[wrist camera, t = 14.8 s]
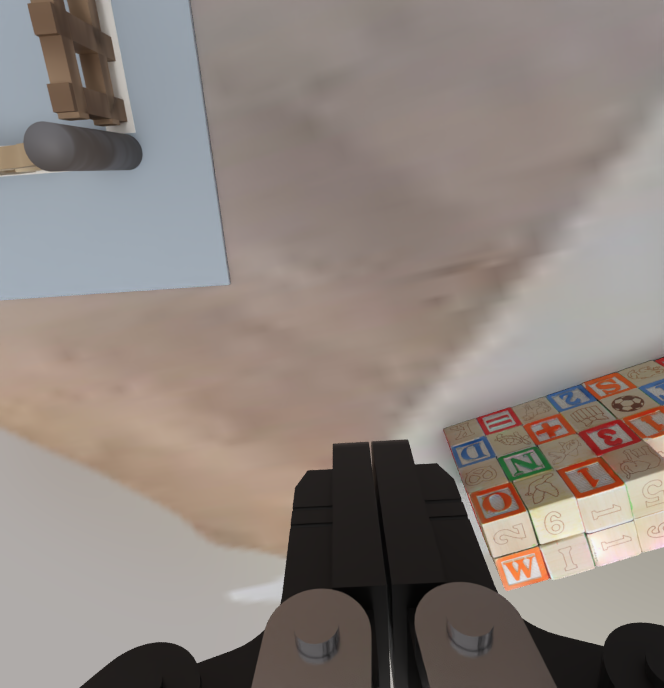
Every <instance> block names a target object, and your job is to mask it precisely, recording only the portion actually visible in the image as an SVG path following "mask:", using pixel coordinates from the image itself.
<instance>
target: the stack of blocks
mask: <svg viewBox="0 0 664 688" xmlns="http://www.w3.org/2000/svg"><path fill="white" fill-rule="evenodd" d="M443 430H444V433H445V436H446V439H447V441H448V444H449V447H450V450H451V452H452V455H453V458H454V460H455V463H456V465H457V468H458V471H459V474H460V476H461V479H462V482H463V485H464V487H465V490H466V493H467V495H468V498H469V501H470V503H471V506H472V508H473V511H474V514H475V517H476V519H477V522H478V524H479V527H480V529H481V532H482V535H483V537H484V540H485V542H486V545H487V547H488V550H489V553H490V555H491V557H492V559H493V561H494V563H495V566H496V568H497V571H498V573H499V576H500V578H501V581H502V583H503V586H504V588H505V590H506V591H509V590H512V589H516V588H519V587H523V586H526V585H530V584H534V583H538V582H541V581H545V580H548V579H549V578H550V579H552V580H557V579H560V578H564V577H567V576H571V575H574V574H577V573H581V572H585V571H588V570H591V569H594V568H595V566H603V565H607V564H610V563H613V562H617V561H620V560H623V559H626V558H630V557H633V556H637V555H639V554H640V553H641V552H648V551H651V550H655V549H658V548H662V547H664V358H661V359H658V360H655V361H649V362H646V363H642V364H639V365H636V366H633V367H630V368H627V369H624V370H622V371H619V372H618V373H612V374H609V375H606V376H603V377H600V378H596V379H593V380H590V381H587V382H584V383H582V384H581V385H577V386H574V387H571V388H568V389H565V390H562V391H559V392H556V393H553V394H550V395H547V396H546V397H542V398H539V399H536V400H533V401H530V402H527V403H524V404H520V405H517V406H514V407H512V408H506V409H503V410H500V411H497V412H494V413H491V414H488V415H485V416H482V417H479V418H476V419H472V420H468V421H465V422H462V423H459V424H456V425H453V426H450V427H447V428H445V429H443Z"/></svg>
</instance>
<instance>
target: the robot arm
mask: <svg viewBox="0 0 664 688" xmlns="http://www.w3.org/2000/svg"><path fill="white" fill-rule="evenodd" d="M371 450H372V464H371V456H370V448H369V442H356V443H338V444H333V469H328V470H310V471H307V472H306V474H305V475H304V476H303V478H302V479H301V480H300V482H299V483H298V485H297V486H296V487H295V493H294V501H293V511H292V518H291V529H290V535H289V543H288V551H287V560H286V568H285V577H284V585H283V593H282V599H281V604H280V606H279V607H278V608H277V609H276V610H275V611H274V612H273V614H272V615H271V617H270V619H269V620H268V622H267V625H266V628H265V630H264V631H263V632H262V633H261V634H260V635H258V636H257V637H256V638H254V639H253V640H252V641H250V642H248V643H247V644H245V645H244V646H242V647H239V648H237V649H235V650H232V651H230V652H227V653H224V654H222V655H219V656H216V657H213V658H211V659H208V660H205V661H202V662H200V663H196V661H195V659H194V657H193V656H192V655H191V654H190V653H189V652H188V651H187V650H186V649H184V648H183V647H181V646H178V645H176V644H172V643H166V642H156V643H150V644H145V645H142V646H139V647H136V648H134V649H131V650H129V651H127V652H125V653H124V654H122V655H120V656H118V657H117V658H116V659H114V660H113V661H112V662H110V663H109V664H108V665H106V666H105V667H104V668H103V669H102V670H100V671H99V672H98V673H97V674H95V675H94V676H93V677H92V678H91V679H89V680H88V681H87V682H86V683H85V684H84V685H82V686H81V687H80V688H390V662H389V651H390V660H391V668H392V677H393V686H394V688H664V626H662V625H657V624H652V623H630V624H626V625H623V626H620V627H618V628H617V629H615V630H614V631H613V632H612V633H610V634H609V636H608V638H607V639H606V641H605V644H604V646H600V645H596V644H592V643H588V642H584V641H579V640H576V639H572V638H568V637H563V636H560V635H556V634H553V633H550V632H547V631H545V630H542V629H540V628H538V627H536V626H534V625H532V624H530V623H528V622H527V621H525V620H524V619H522V618H521V616H520V614H519V613H518V611H517V610H516V609H515V608H514V606H513V605H512V604H511V603H510V602H509V601H508V600H506V599H505V598H504V597H503V596H501V595H500V594H498V592H497V590H496V587H495V586H494V583H493V580H492V578H491V575H490V572H489V570H488V567H487V564H486V562H485V559H484V557H483V554H482V551H481V549H480V546H479V544H478V541H477V538H476V536H475V533H474V530H473V528H472V525H471V523H470V520H469V519H468V515H467V512H466V510H465V507H464V504H463V502H462V501H461V496H460V494H459V491H458V489H457V486H456V483H455V481H454V479H453V478H452V477H451V476H450V475H449V474H448V473H447V472H446V471H445V470H443V469H442V468H441V467H440V466H439V465H438V464H437V463H435V464H417V465H415V464H414V460H413V456H412V453H411V449H410V445H409V442H408V440H389V441H372V442H371Z"/></svg>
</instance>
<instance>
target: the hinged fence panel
mask: <svg viewBox="0 0 664 688" xmlns="http://www.w3.org/2000/svg"><path fill="white" fill-rule="evenodd" d="M41 170H42V169H40V168H38V167H37V166H35V165H34V164H33V163H32V162H31V161H30V159H29V158H28V156H27V154H26V152H25V149H24V143H19V144H16V145H10V146H2V147H0V175H13V174H24V173H32V172H36V171H41Z"/></svg>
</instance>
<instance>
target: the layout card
mask: <svg viewBox="0 0 664 688" xmlns="http://www.w3.org/2000/svg"><path fill="white" fill-rule="evenodd" d="M95 2H96V7H97V12H98V17H99V22H100V27H101V32H103V33H105V34H107V35H108V36H110V37H111V39H112V44H113V49H114V54H115V59H116V61H114V62H108V67H109V72H110V77H111V82H112V87H113V92H114V97H117V98H120V99H123V100H124V105H125V111H126V116H127V121H128V122H122V123H120V125H116V126H103V127H102V126H96V125H94V122H93V120H90V119H88V120H75V121H67V120H61V119H59V118H58V114H57V113H54V112H53V109H52V105H51V101H50V96H49V92H48V88H47V84H50V81H49V77H48V73H47V68H46V64H45V60H44V56H43V52H42V47H41V43H40V39H39V37H38V36H36V35H35V34H34V30H33V26H32V22H31V18H30V14H29V10H28V5H27V3H31V1H30V0H0V147H2V146H10V145H16V144H19V143H23V140H24V134H25V132H26V130H27V129H28V127H29V126H30V125H32V124H34V123H36V122H40V121H45V122H52V123H58V124H64V125H71V126H77V127H84V128H90V129H97V130H103V131H110V132H116V133H123V134H128V135H130V136H132V137H134V138H135V139H136V140H137V141H138V142H139V144H140V146H141V148H142V153H143V156H142V161H141V163H140V164H139V166H138V167H136V168H135V169H132V170H110V171H60V172H49V171H45V170H41V171H36V172H32V173H24V174H13V175H0V300H11V299H26V298H40V297H55V296H70V295H85V294H100V293H115V292H129V291H144V290H159V289H174V288H189V287H204V286H218V285H230V284H231V283H230V276H229V269H228V262H227V255H226V248H225V241H224V234H223V227H222V220H221V213H220V206H219V199H218V192H217V185H216V179H215V172H214V165H213V158H212V151H211V144H210V137H209V130H208V123H207V116H206V109H205V102H204V95H203V88H202V81H201V74H200V67H199V60H198V53H197V46H196V39H195V32H194V25H193V18H192V11H191V4H190V0H95ZM64 4H65V9H66V11H67V12H69V7H68V3H67V0H64ZM69 13H70V12H69ZM75 54H76V59H77V63H78V68H79V73H80V77H81V82H82V86H83V87H85V88H86V85H85V81H84V76H83V72H82V67H81V62H80V58H79V54H77V53H75Z"/></svg>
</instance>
